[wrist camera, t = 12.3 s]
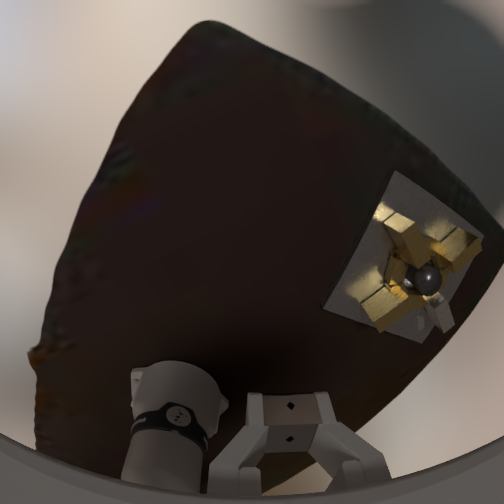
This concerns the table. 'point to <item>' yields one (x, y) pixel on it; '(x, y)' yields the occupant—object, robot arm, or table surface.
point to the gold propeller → (418, 253)
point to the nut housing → (382, 247)
